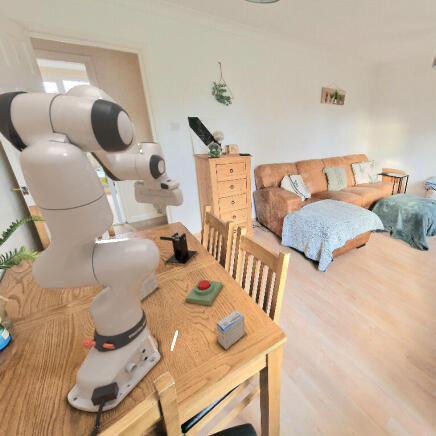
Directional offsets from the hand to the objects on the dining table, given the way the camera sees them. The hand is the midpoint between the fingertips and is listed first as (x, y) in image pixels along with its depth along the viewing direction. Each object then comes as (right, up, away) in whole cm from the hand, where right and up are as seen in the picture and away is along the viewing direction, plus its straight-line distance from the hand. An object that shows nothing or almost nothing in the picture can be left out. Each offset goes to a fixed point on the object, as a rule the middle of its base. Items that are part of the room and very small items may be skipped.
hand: (161, 213), depth 104 cm
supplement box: (-8, -34, -7) cm, 35 cm away
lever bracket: (0, -23, +19) cm, 30 cm away
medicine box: (+37, -43, -24) cm, 61 cm away
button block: (+21, -34, -4) cm, 40 cm away
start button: (+21, -31, -6) cm, 37 cm away
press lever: (0, -13, +10) cm, 16 cm away
